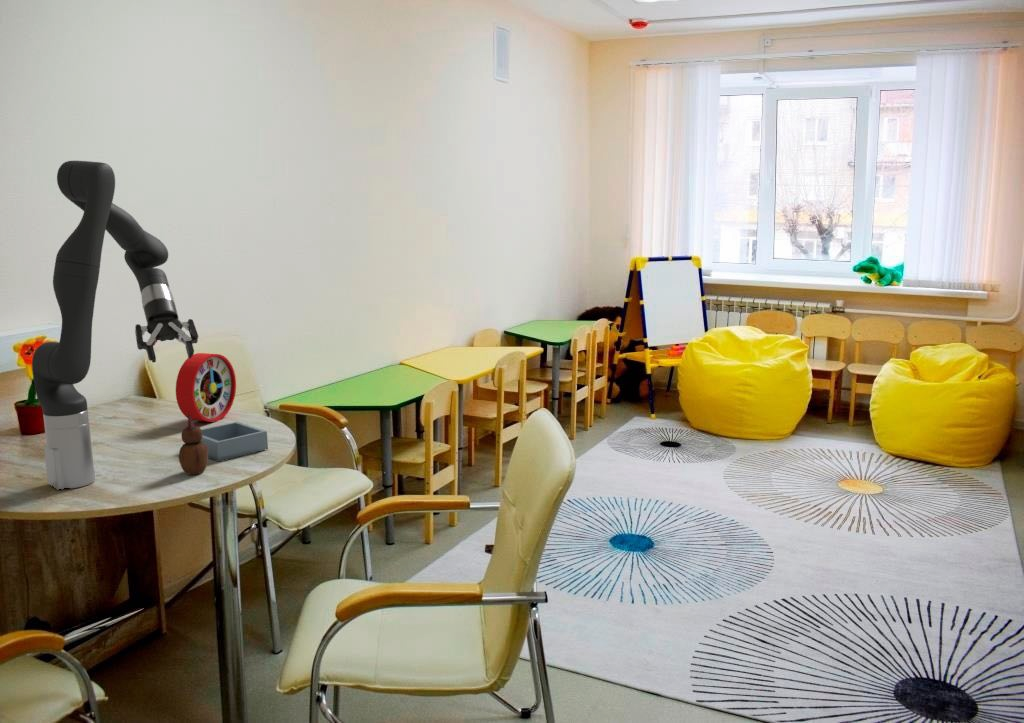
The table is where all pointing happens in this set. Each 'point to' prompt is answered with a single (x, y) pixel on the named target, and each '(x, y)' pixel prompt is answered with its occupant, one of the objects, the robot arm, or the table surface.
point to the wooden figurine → (193, 449)
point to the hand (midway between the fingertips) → (172, 358)
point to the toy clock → (206, 387)
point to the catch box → (233, 440)
